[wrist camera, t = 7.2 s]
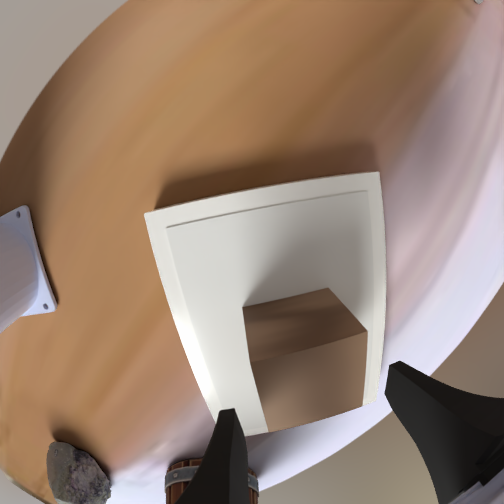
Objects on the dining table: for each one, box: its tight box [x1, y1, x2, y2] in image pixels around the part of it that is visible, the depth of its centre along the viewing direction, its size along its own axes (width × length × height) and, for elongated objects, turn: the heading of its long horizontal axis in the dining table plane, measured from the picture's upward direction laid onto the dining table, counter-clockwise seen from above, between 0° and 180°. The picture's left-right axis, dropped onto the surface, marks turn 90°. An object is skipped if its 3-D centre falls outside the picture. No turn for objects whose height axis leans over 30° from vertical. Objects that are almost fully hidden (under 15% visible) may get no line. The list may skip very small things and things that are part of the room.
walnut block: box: [242, 288, 368, 432], centre depth 13 cm, size 5×5×5 cm
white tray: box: [144, 172, 386, 436], centre depth 17 cm, size 13×18×2 cm
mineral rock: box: [47, 442, 111, 504], centre depth 17 cm, size 13×11×10 cm
